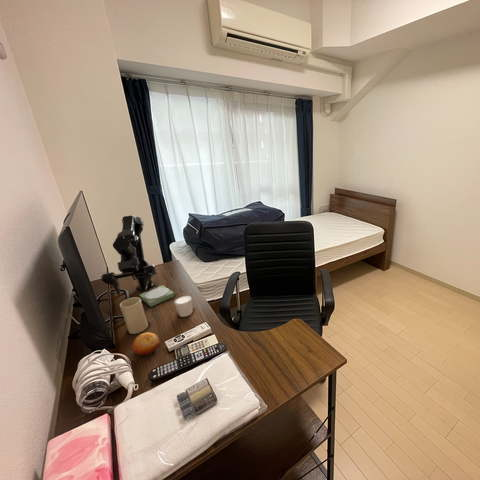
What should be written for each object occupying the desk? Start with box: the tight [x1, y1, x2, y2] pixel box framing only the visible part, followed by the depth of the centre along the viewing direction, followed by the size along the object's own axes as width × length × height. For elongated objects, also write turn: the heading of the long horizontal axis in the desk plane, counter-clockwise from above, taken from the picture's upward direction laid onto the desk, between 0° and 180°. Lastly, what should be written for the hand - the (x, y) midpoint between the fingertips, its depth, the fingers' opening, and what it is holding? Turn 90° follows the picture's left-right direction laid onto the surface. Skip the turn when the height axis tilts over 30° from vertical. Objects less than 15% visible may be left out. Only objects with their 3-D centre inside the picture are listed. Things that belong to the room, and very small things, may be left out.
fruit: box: [131, 331, 160, 356], centre depth 93 cm, size 8×8×8 cm
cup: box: [119, 296, 149, 335], centre depth 103 cm, size 7×7×13 cm
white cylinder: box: [174, 295, 194, 318], centre depth 114 cm, size 7×7×7 cm
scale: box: [139, 285, 175, 308], centre depth 126 cm, size 12×11×3 cm
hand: (132, 292), depth 107 cm, fingers open, 9 cm apart
